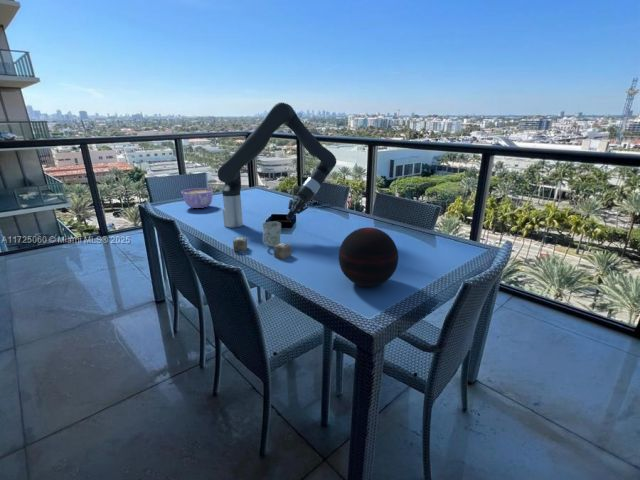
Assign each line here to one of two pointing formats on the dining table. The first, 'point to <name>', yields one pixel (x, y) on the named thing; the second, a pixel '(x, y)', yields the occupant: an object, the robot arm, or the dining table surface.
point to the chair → (302, 184)
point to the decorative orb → (368, 257)
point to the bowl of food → (198, 197)
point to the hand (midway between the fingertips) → (287, 218)
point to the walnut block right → (282, 250)
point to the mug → (271, 233)
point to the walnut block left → (240, 244)
